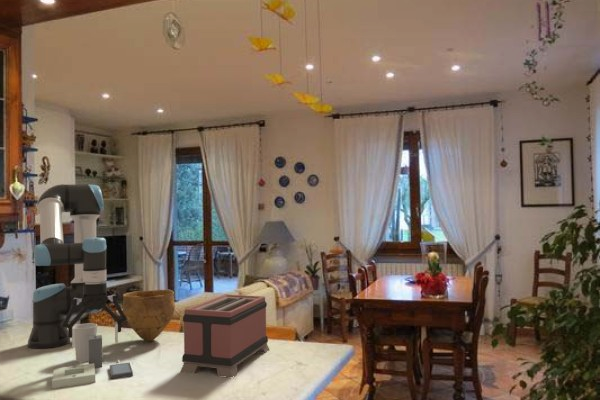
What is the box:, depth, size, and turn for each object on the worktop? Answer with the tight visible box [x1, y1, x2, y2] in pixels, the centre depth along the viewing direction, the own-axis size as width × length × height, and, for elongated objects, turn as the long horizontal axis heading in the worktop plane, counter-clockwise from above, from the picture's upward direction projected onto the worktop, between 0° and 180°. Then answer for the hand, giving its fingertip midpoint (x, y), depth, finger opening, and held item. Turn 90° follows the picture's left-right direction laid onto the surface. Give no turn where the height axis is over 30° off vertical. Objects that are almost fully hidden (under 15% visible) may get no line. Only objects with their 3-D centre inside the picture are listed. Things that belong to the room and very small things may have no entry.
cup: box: [73, 322, 98, 363], centre depth 175 cm, size 8×8×12 cm
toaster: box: [180, 293, 270, 378], centre depth 173 cm, size 19×34×21 cm, turn 161°
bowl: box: [122, 289, 176, 342], centre depth 198 cm, size 21×20×20 cm
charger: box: [88, 334, 103, 369], centre depth 167 cm, size 4×4×10 cm
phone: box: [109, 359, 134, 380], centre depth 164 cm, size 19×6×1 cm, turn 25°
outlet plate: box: [51, 363, 96, 389], centre depth 155 cm, size 12×12×3 cm
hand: (95, 344), depth 167 cm, fingers open, 13 cm apart
